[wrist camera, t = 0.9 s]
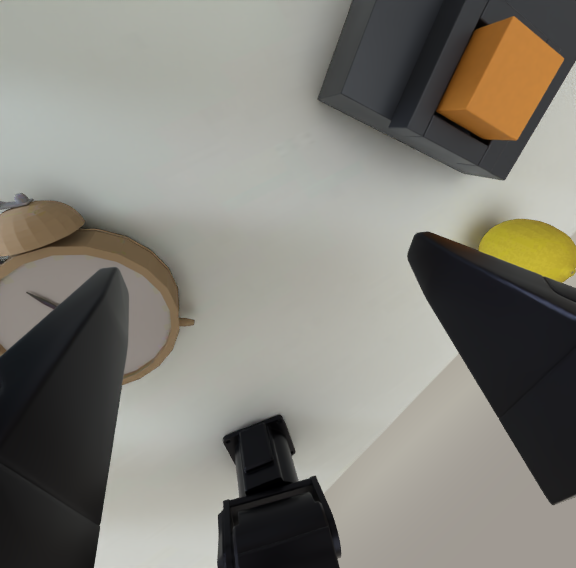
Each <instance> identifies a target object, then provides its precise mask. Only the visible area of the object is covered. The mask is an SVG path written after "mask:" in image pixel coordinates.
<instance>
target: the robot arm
mask: <svg viewBox="0 0 576 568" xmlns="http://www.w3.org/2000/svg"><path fill="white" fill-rule="evenodd" d="M407 257H408V261H409V263H410V266H411V268H412V270H413V272H414V274H415V276H416V279H417V281H418V283H419V285H420V287H421V289H422V291H423V293H424V295H425V297H426V299H427V301H428V303H429V304H430V306H431V308H432V309H433V311H434V312H435V314H436V316H437V317H438V319H439V321H440V322H441V324H442V326H443V327H444V329H445V331H446V332H447V334H448V336H449V337H450V339H451V341H452V342H453V344H454V346H455V347H456V349H457V350H458V352H459V354H460V355H461V357H462V359H463V360H464V362H465V364H466V365H467V367H468V369H469V370H470V372H471V374H472V375H473V377H474V379H475V380H476V382H477V384H478V385H479V387H480V388H481V390H482V392H483V393H484V395H485V397H486V398H487V400H488V402H489V403H490V405H491V407H492V408H493V410H494V412H495V413H496V415H497V417H498V418H499V420H500V422H501V423H502V425H503V427H504V429H505V430H506V432H507V433H508V435H509V437H510V438H511V440H512V442H513V443H514V445H515V447H516V448H517V450H518V452H519V453H520V455H521V456H522V458H523V460H524V461H525V463H526V465H527V467H528V468H529V470H530V471H531V473H532V475H533V476H534V478H535V480H536V481H537V483H538V485H539V486H540V488H541V490H542V491H543V493H544V495H545V496H546V498H547V499H548V500H549V502H550V503H551V504H552V505H555V504H558V503H561V502H564V501H566V500H569V499H572V498H575V497H576V288H574V287H572V286H568V285H566V284H564V283H561V282H558V281H556V280H553V279H550V278H548V277H545V276H542V275H540V274H537V273H535V272H532V271H530V270H527V269H524V268H522V267H519V266H517V265H514V264H511V263H509V262H506V261H504V260H501V259H498V258H496V257H493V256H491V255H488V254H485V253H483V252H480V251H478V250H475V249H473V248H470V247H467V246H465V245H462V244H460V243H457V242H454V241H452V240H449V239H447V238H444V237H441V236H439V235H436V234H434V233H431V232H420V233H416V234H415V235H414V237H413V240H412V243H411V245H410V248H409V251H408V255H407ZM128 333H129V292H128V289H127V286H126V284H125V281H124V279H123V276H122V274H121V272H120V270H119V268H117V267H108V268H101V269H99V270H98V271H97V272H96V273H95V274H93V275H92V276H91V277H90V278H89V279H88V280H87V281H85V282H84V283H83V284H82V285H81V286H80V287H79V288H77V289H76V290H75V291H74V292H73V293H72V294H71V295H69V296H68V297H67V298H66V299H65V300H64V301H63V302H62V303H60V304H59V305H58V306H57V307H56V308H55V309H54V310H52V311H51V312H50V313H49V314H48V315H47V316H46V317H44V318H43V319H42V320H41V321H40V322H39V323H38V324H36V325H35V326H34V327H33V328H32V329H31V330H30V331H28V332H27V333H26V334H25V335H24V336H23V337H22V338H21V339H19V340H18V341H17V342H16V343H15V344H14V345H13V346H11V347H10V348H9V349H8V350H7V351H6V352H5V353H3V354H2V355H1V356H0V568H94V564H95V557H96V551H97V544H98V538H99V531H100V526H99V525H100V523H101V517H102V511H103V504H104V498H105V492H106V485H107V479H108V472H109V466H110V459H111V453H112V447H113V440H114V434H115V427H116V421H117V415H118V408H119V402H120V395H121V389H122V382H123V376H124V370H125V363H126V357H127V350H128ZM278 420H279V421H278ZM223 443H224V445H225V447H226V449H227V450H228V452H229V454H230V456H231V458H232V460H233V461H234V463H235V465H236V471H237V480H238V490H239V498H236V499H233V500H229V499H228V500H225V501H223V511H222V512H221V513H220V514H219V515H218V529H219V541H218V559H217V565H218V568H339V564H338V560H337V559H338V558H340V557H341V547H340V540H339V536H338V531H337V528H336V524H335V521H334V518H333V515H332V512H331V510H330V508H329V505H328V503H327V501H326V499H325V496H324V494H323V492H322V490H321V487H320V485H319V483H318V480H317V478H316V476H312V477H310V478H309V479H305V480H302V481H298V477H297V474H296V470H295V467H294V463H293V460H292V455H294V454H295V448H294V445H293V443H292V440H291V437H290V435H289V432H288V429H287V427H286V424H285V421H284V419H283V417H282V416H281V415H279V416H275V417H273V418H270V419H268V420H265V421H263V422H260V423H257V424H255V425H252V426H250V427H247V428H244V429H242V430H239V431H237V432H234V433H231V434H229V435H226V436H225V437H224V438H223Z"/></svg>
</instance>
